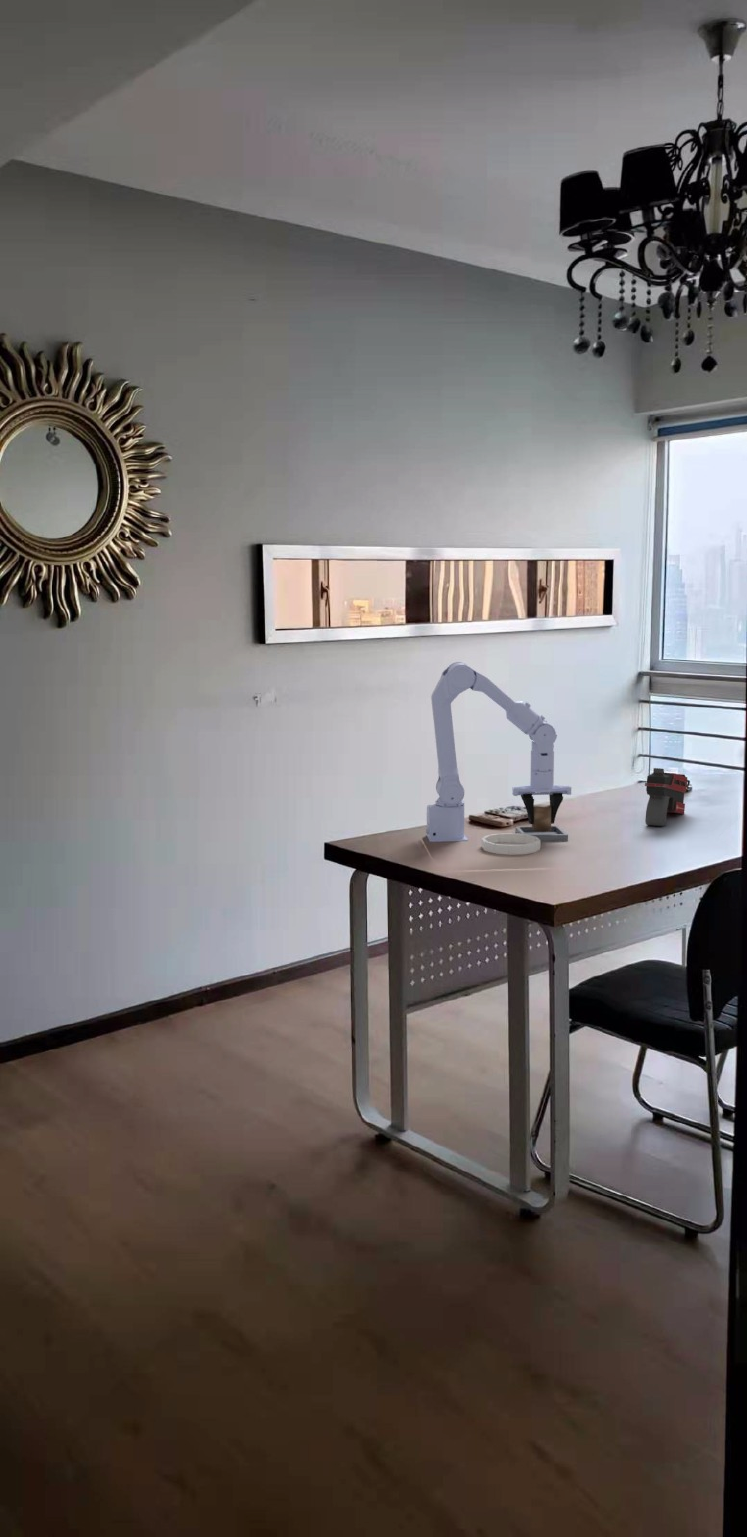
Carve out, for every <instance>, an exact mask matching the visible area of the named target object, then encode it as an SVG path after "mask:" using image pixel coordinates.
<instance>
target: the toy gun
mask: <svg viewBox="0 0 747 1537" xmlns="http://www.w3.org/2000/svg"><path fill="white" fill-rule="evenodd" d="M687 785H688V776H686V775H685V774H683V773H682V774H681V773H676V772H675V773H673V772H672V773H671V772H665V769H664V768H658V767H657V768H656V767H653V772H652V773H650V774H649V775H647V777H646V782H645V783H644V787H646V788H645V790H646V794H647V795H648V796H649V798H648V802H647V804H646V808H645V809H646V810H645V818H644V819H645V820H644V821H645V822H644V823H645V825H647V826H655V827H663V826H666V823H667V816H668V815H667V813H669V814H682V815H684V814H685V810H686V809H685V808H686V803H684V800H685V794H687V787H688V786H687Z"/></svg>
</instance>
